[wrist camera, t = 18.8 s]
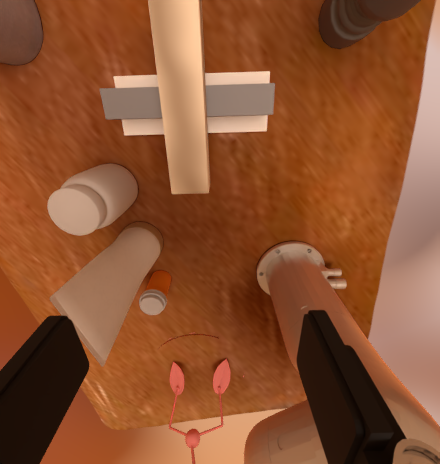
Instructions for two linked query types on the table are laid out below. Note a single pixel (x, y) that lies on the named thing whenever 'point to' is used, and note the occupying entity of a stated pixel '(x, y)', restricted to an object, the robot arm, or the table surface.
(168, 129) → the birch bar
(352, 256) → the table surface
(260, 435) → the robot arm
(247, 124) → the ridge stand
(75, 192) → the toiletry set
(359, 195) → the table surface
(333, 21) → the candle holder
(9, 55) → the pillar candle
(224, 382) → the figurine
